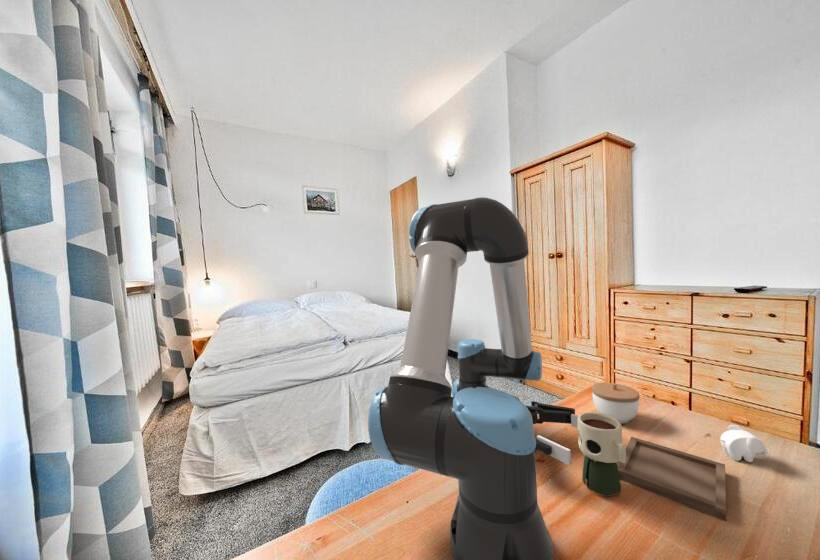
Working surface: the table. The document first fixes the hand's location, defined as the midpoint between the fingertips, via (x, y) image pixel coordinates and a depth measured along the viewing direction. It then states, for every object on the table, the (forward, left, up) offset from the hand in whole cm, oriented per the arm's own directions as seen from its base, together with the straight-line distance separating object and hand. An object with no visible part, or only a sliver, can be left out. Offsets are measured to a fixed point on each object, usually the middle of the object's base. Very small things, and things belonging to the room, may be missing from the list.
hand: (587, 443), depth 60 cm
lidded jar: (+30, +2, -7) cm, 31 cm away
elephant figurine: (+27, -21, -7) cm, 35 cm away
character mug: (-1, -2, -7) cm, 8 cm away
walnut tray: (+11, -11, -7) cm, 17 cm away
